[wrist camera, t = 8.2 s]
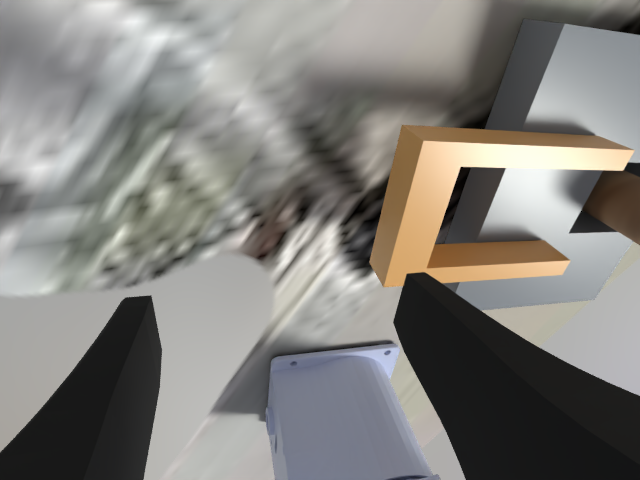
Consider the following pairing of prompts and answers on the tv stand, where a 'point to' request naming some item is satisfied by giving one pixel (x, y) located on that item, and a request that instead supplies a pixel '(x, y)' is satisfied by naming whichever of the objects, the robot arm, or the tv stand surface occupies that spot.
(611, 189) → the peg
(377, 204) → the tv stand surface
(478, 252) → the cap
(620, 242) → the housing
